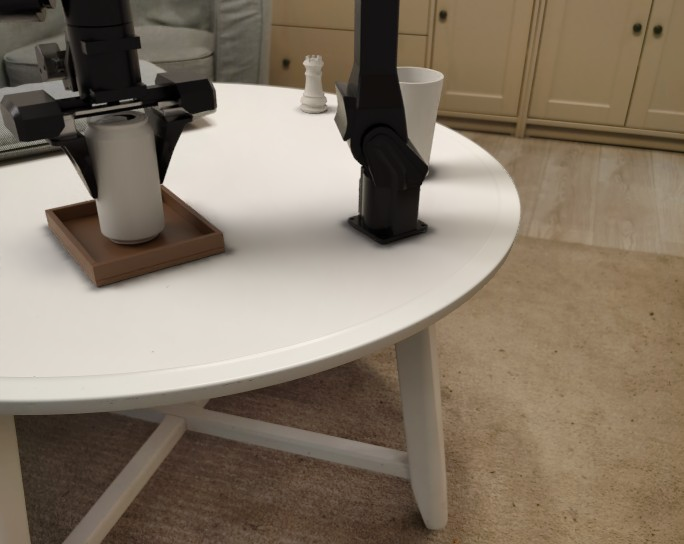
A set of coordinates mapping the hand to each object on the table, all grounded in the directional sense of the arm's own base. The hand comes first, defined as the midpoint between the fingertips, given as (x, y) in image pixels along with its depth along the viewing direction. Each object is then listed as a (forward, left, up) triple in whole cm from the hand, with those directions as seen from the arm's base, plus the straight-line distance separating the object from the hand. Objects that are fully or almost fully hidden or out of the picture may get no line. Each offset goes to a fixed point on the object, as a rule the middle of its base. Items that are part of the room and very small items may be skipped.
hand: (127, 190), depth 71 cm
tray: (0, 0, -5) cm, 5 cm away
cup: (0, -36, -6) cm, 36 cm away
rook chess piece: (+29, -41, -6) cm, 50 cm away
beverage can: (0, 0, -5) cm, 5 cm away
